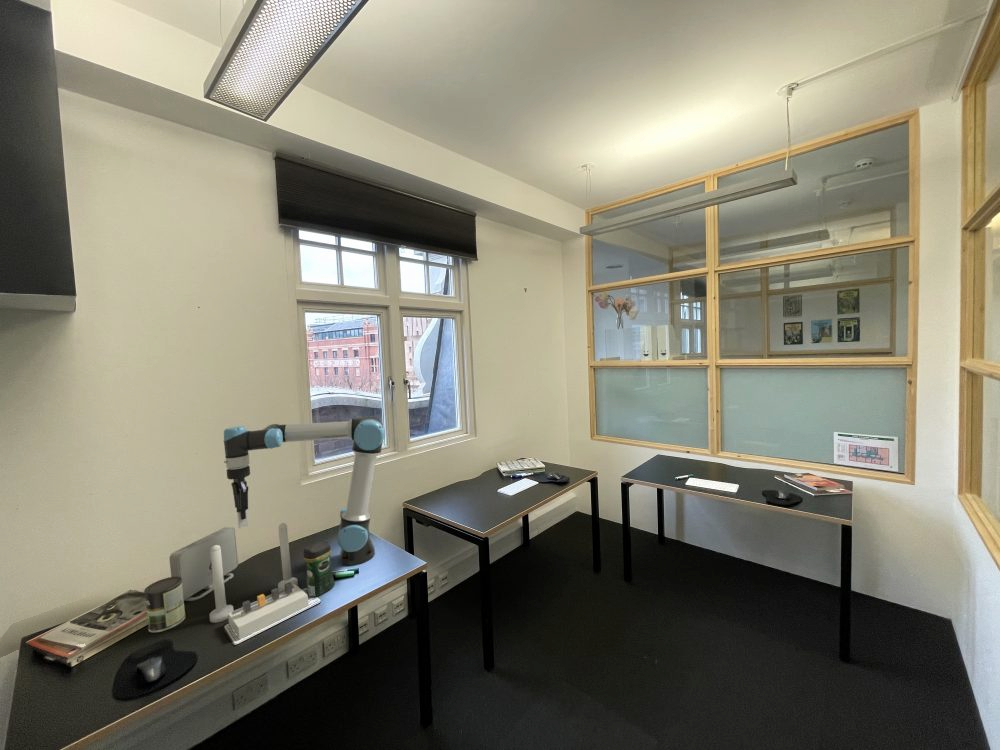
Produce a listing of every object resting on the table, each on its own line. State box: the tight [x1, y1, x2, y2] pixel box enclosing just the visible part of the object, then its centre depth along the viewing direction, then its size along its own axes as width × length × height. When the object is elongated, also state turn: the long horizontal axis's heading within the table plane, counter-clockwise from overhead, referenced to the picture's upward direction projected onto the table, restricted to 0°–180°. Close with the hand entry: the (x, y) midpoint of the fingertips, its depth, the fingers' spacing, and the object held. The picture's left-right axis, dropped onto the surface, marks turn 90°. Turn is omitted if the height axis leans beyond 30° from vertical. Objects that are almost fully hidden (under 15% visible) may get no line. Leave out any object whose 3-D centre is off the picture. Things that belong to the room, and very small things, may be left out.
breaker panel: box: [228, 584, 309, 640], centre depth 142 cm, size 22×12×4 cm, turn 138°
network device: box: [168, 526, 239, 602], centre depth 164 cm, size 26×9×20 cm, turn 168°
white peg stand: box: [209, 545, 235, 624], centre depth 143 cm, size 7×7×26 cm
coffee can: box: [143, 576, 186, 634], centre depth 141 cm, size 10×10×14 cm
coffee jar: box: [303, 539, 335, 597], centre depth 156 cm, size 10×8×19 cm
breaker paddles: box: [241, 582, 294, 615], centre depth 142 cm, size 17×2×4 cm, turn 138°
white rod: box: [277, 522, 299, 591], centre depth 160 cm, size 7×7×26 cm
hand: (243, 526), depth 156 cm, fingers closed
